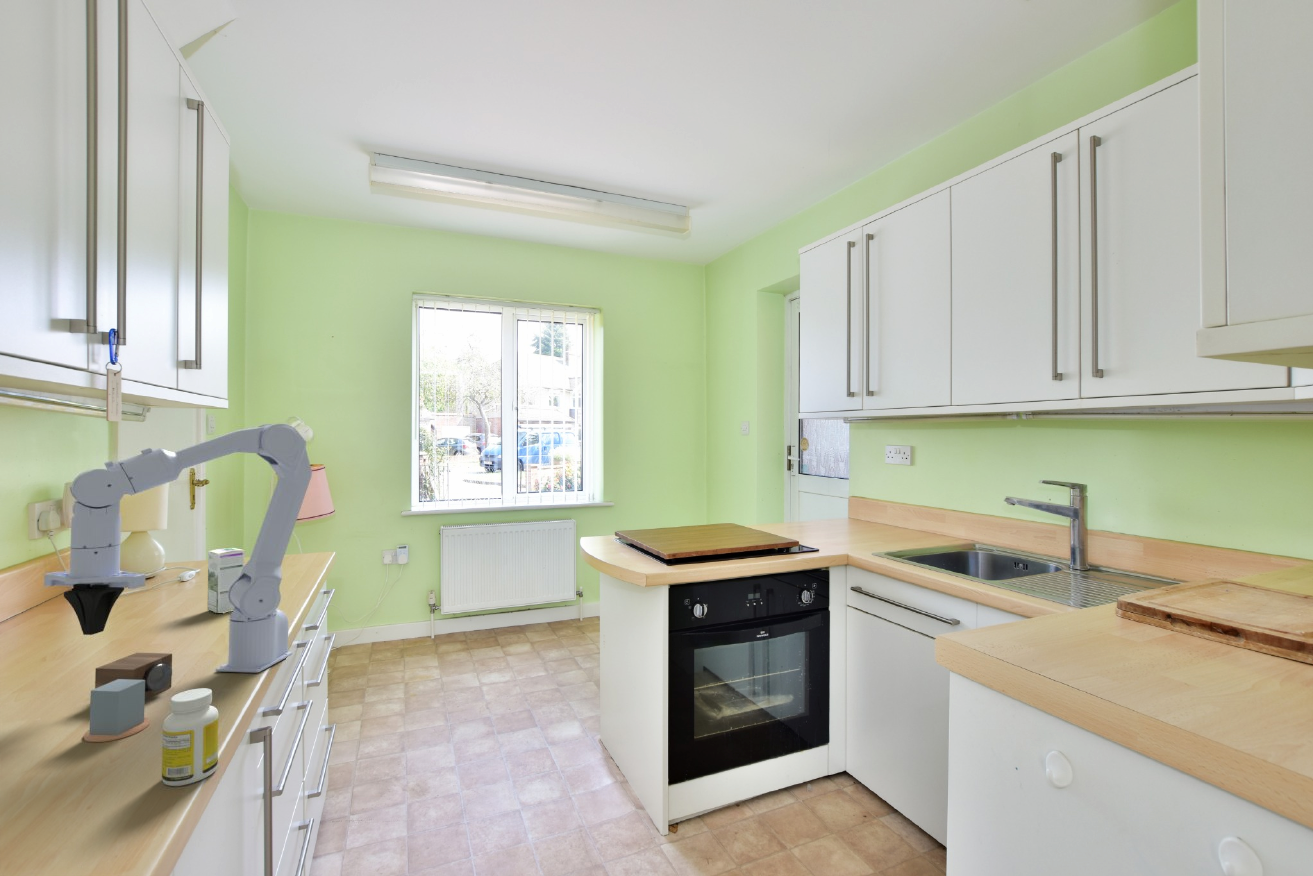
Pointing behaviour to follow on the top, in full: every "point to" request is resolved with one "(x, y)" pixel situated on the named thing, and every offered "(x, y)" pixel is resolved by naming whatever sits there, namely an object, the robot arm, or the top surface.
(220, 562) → the syrup box
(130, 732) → the plate
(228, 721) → the top surface
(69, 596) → the robot arm
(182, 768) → the supplement bottle
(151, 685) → the rod
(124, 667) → the rod housing
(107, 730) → the block
